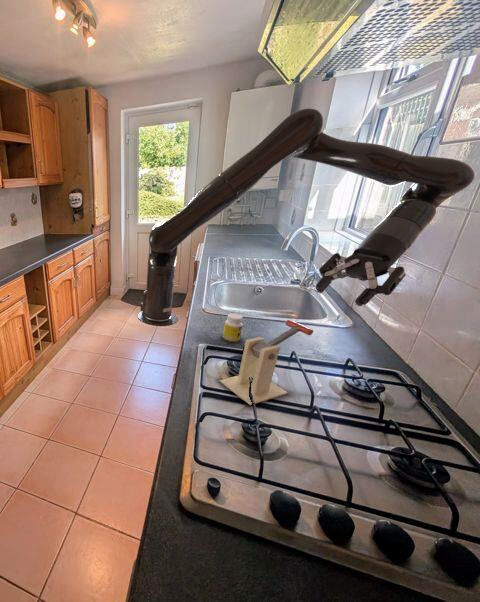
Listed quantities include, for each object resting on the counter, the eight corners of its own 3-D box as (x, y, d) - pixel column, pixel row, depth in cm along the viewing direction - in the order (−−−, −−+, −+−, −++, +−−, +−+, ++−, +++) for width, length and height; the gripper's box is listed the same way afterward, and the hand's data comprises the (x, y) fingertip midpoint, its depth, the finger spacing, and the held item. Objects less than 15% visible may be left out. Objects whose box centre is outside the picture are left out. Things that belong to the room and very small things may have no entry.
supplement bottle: (238, 346, 90) (243, 320, 87) (221, 342, 92) (225, 317, 89) (239, 339, 94) (244, 314, 91) (223, 335, 96) (227, 311, 93)
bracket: (253, 374, 77) (264, 330, 72) (286, 396, 69) (300, 348, 64) (219, 384, 73) (227, 338, 69) (249, 408, 66) (261, 358, 61)
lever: (290, 325, 72) (289, 317, 71) (313, 335, 67) (313, 326, 66) (246, 351, 70) (245, 343, 69) (267, 364, 65) (266, 355, 64)
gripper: (347, 227, 73) (301, 279, 75) (425, 238, 61) (368, 299, 62) (355, 246, 77) (311, 295, 78) (430, 259, 64) (376, 317, 66)
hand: (336, 297), depth 70 cm, fingers open, 8 cm apart
